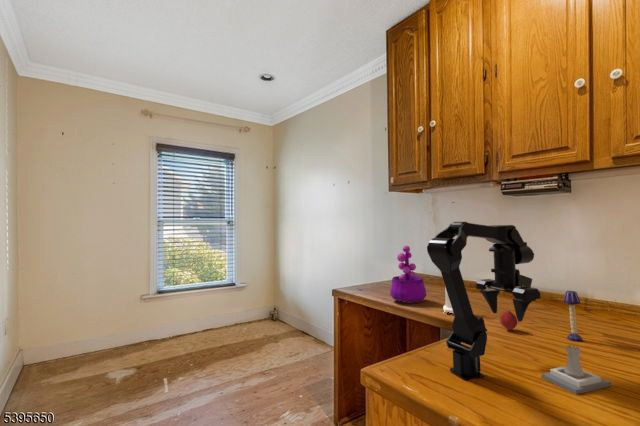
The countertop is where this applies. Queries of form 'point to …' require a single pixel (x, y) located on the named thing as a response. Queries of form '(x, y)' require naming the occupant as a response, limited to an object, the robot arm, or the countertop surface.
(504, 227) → the robot arm
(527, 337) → the countertop surface
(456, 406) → the countertop surface
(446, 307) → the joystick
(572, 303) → the toy lamp
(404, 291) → the decorative plant
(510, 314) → the onion
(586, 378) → the collar plate
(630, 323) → the countertop surface
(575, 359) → the rook chess piece
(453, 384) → the countertop surface
